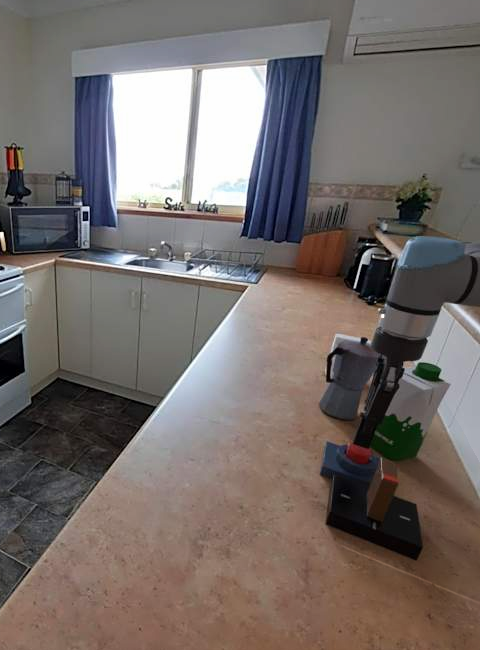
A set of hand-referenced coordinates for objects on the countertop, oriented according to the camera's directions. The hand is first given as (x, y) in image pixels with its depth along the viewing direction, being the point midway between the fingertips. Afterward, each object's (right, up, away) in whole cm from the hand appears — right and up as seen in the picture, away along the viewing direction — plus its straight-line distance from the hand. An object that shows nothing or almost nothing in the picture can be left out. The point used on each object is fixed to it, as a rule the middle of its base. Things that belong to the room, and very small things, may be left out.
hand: (360, 444), depth 76 cm
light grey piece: (+18, +10, +40) cm, 45 cm away
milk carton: (+12, -4, +10) cm, 16 cm away
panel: (-3, -11, -8) cm, 14 cm away
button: (0, -3, +1) cm, 3 cm away
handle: (-3, -8, -9) cm, 13 cm away
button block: (0, -6, +3) cm, 7 cm away
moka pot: (+7, +2, +23) cm, 24 cm away
